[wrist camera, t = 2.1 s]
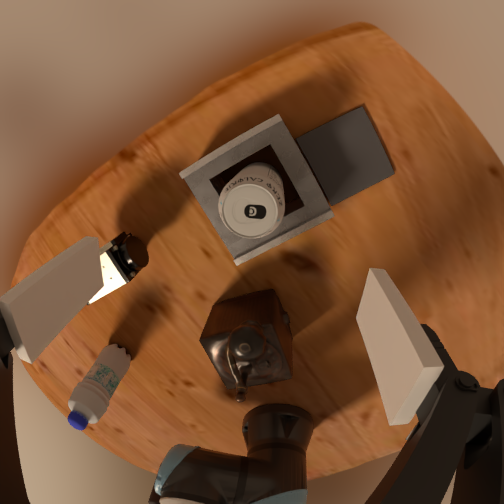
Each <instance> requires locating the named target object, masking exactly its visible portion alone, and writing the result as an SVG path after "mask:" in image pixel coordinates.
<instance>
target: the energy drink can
mask: <svg viewBox="0 0 504 504" xmlns="http://www.w3.org/2000/svg"><path fill="white" fill-rule="evenodd" d="M218 208H219V214H220V217H221V219H222V221H223V223H224V224H225V226H226V227H227V228H228V229H229V230H230V231H231V232H233V233H234V234H236V235H238V236H240V237H243V238H260V237H264V236H266V235H268V234H270V233H271V232H273V231H274V230H275V229H276V228H277V227H278V226H279V224H280V223H281V221H282V219H283V216H284V212H285V200H284V188H283V180H282V177H281V175H280V173H279V172H278V170H277V169H276V168H275V167H273V166H272V165H270V164H267V163H264V162H255V163H251V164H249V165H247V166H246V167H244V168H243V169H242V170H241V171H240V172H239V173H238V174H237V175H236V176H235V177H234V178H233V179H232V180H230V181H229V182H228V184H227V185H226V186H225V187H224V188H223V190H222V192H221V194H220V197H219V203H218Z"/></svg>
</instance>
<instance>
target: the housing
mask: <svg viewBox="0 0 504 504" xmlns="http://www.w3.org/2000/svg"><path fill="white" fill-rule="evenodd" d="M268 145H271V146H272V148H273V150H274V152H275V153H276V155H277V157H278V158H279V160H280V162H281V164H282V165H283V167H284V169H285V171H286V172H287V174H288V176H289V178H290V180H291V181H292V183H293V185H294V187H295V189H296V190H297V192H298V194H299V196H300V197H298V198H296V199H294V200H292V201H290V202H288V203H286V204H285V212H284V216H283V219H282V221H281V223H280V224H279V226H278V227H277V228H276V229H275V230H274V231H273V232H271V233H270V234H268V235H266V236H264V237H260V238H243V237H240V236H238V235H236V234H234V233H233V232H231V231H230V230H229V229H228V228H227V227H226V226H225V224H224V223H223V221H222V219H221V217H220V214H219V208H218V203H219V197H220V194H221V192H222V190H223V188H224V187H225V186H226V184H225V182H224V181H223V179H222V177H221V176H220V174H219V173H221V172H222V171H224V170H226V169H228V168H229V167H231V166H233V165H234V164H236V163H238V162H239V161H241V160H243V159H245V158H246V157H248V156H250V155H252V154H254V153H255V152H257V151H259V150H261V149H262V148H264V147H266V146H268ZM179 175H180V176H181V178H182V179H185V181H186V183H187V184H188V186H189V188H190V189H191V191H192V192H193V194H194V196H195V197H196V199H197V200H198V202H199V204H200V205H201V207H202V208H203V210H204V212H205V213H206V215H207V216H208V218H209V220H210V221H211V223H212V224H213V226H214V228H215V229H216V231H217V232H218V234H219V235H220V237H221V239H222V240H223V242H224V243H225V245H226V246H227V248H228V250H229V251H230V253H231V254H232V256H233V257H234V260H233V261H234V262H235V264H236V265H237V266H238V265H240V264H241V263H243V262H245V261H247V260H249V259H251V258H253V257H255V256H257V255H259V254H261V253H263V252H265V251H267V250H269V249H271V248H273V247H275V246H277V245H279V244H281V243H283V242H285V241H287V240H289V239H291V238H293V237H295V236H297V235H299V234H301V233H303V232H305V231H307V230H309V229H311V228H313V227H314V226H316V225H318V224H320V223H322V222H324V221H326V220H328V219H330V218H332V217H334V214H333V212H332V210H331V208H330V206H329V204H328V202H327V200H326V198H325V197H324V195H323V193H322V191H321V189H320V187H319V185H318V183H317V181H316V179H315V177H314V176H313V174H312V172H311V170H310V168H309V166H308V164H307V163H306V161H305V159H304V157H303V155H302V154H301V152H300V150H299V148H298V146H297V145H296V143H295V141H294V139H293V138H292V136H291V134H290V132H289V131H288V129H287V127H286V126H285V124H284V122H283V121H282V119H281V117H280V115H279V114H277V115H276V116H274V117H272V118H270V119H268V120H266V121H264V122H263V123H261V124H259V125H257V126H255V127H254V128H252V129H250V130H248V131H247V132H245V133H243V134H241V135H240V136H238V137H236V138H234V139H233V140H231V141H229V142H228V143H226V144H224V145H223V146H221V147H219V148H218V149H216V150H214V151H213V152H211V153H210V154H208V155H206V156H205V157H203V158H202V159H200V160H198V161H197V162H195V163H194V164H192V165H191V166H189V167H188V168H186V169H184V170H183V171H181V172H180V173H179Z"/></svg>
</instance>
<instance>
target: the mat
mask: <svg viewBox="0 0 504 504" xmlns="http://www.w3.org/2000/svg"><path fill="white" fill-rule="evenodd" d="M296 140H297V142H298V144H299V146H300V148H301V149H302V151H303V153H304V155H305V156H306V158H307V160H308V162H309V164H310V166H311V167H312V169H313V171H314V173H315V175H316V177H317V179H318V181H319V182H320V184H321V186H322V188H323V190H324V192H325V194H326V196H327V198H328V200H329V202H330V204H331V206H333V205H335V204H337V203H339V202H341V201H342V200H344V199H346V198H348V197H350V196H352V195H354V194H356V193H358V192H360V191H362V190H364V189H366V188H368V187H370V186H372V185H374V184H376V183H378V182H380V181H382V180H384V179H386V178H388V177H389V176H391V175H393V174H395V173H394V171H393V168H392V166H391V164H390V162H389V159H388V157H387V155H386V153H385V151H384V148H383V146H382V144H381V142H380V140H379V138H378V136H377V134H376V132H375V130H374V128H373V126H372V124H371V122H370V120H369V118H368V116H367V114H366V112H365V110H364V108H363V107H359V108H357V109H355V110H353V111H351V112H349V113H347V114H344V115H342V116H340V117H338V118H336V119H334V120H332V121H330V122H328V123H326V124H324V125H322V126H320V127H318V128H316V129H314V130H312V131H310V132H308V133H306V134H304V135H302V136H300V137H298V138H296Z"/></svg>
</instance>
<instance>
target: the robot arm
mask: <svg viewBox="0 0 504 504" xmlns="http://www.w3.org/2000/svg"><path fill="white" fill-rule="evenodd" d="M103 287H104V282H103V275H102V268H101V260H100V252H99V243H98V238H97V237H88V236H86V237H84V238H83V239H81V240H80V241H78V242H77V243H75V244H74V245H72V246H71V247H69V248H68V249H66V250H65V251H63V252H62V253H60V254H59V255H57V256H56V257H54V258H53V259H51V260H50V261H48V262H47V263H46V264H44V265H43V266H41V267H40V268H39V269H37V270H36V271H34V272H33V273H32V274H30V275H29V276H28V277H26V278H25V279H23V280H22V281H21V282H19V283H18V284H17V285H16V286H14V287H13V288H12V289H10V290H9V291H8V292H6V293H5V294H4V295H3V296H1V297H0V504H30V502H29V500H28V497H27V493H26V488H25V484H24V479H23V475H22V469H21V464H20V458H19V452H18V445H17V438H16V429H15V417H14V405H13V404H14V403H13V357H12V354H11V352H10V351H11V350H12V349H13V348H14V347H15V349H16V351H17V354H18V356H19V358H20V359H22V360H24V361H26V362H28V363H31V364H32V363H33V362H34V361H35V360H36V358H37V357H38V356H39V355H40V354H41V353H42V352H43V350H44V349H45V348H46V347H47V346H48V345H49V344H50V343H51V341H52V340H53V339H54V338H55V337H56V336H57V335H58V334H59V333H60V331H61V330H62V329H63V328H64V327H65V326H66V325H67V324H68V323H69V322H70V321H71V320H72V319H73V317H74V316H75V315H76V314H77V313H78V312H79V311H80V310H81V309H82V308H83V307H84V306H85V305H86V304H87V303H88V302H89V301H90V300H91V299H92V298H93V297H94V296H95V295H96V294H97V293H98V292H99V291H100V290H101V289H102V288H103ZM356 320H357V323H358V326H359V328H360V331H361V334H362V337H363V340H364V343H365V346H366V349H367V352H368V355H369V358H370V362H371V365H372V368H373V371H374V374H375V377H376V381H377V384H378V387H379V391H380V394H381V397H382V401H383V404H384V408H385V412H386V415H387V419H388V422H389V425H400V424H409V422H410V421H411V419H412V418H413V416H414V415H415V413H416V414H417V417H418V420H419V422H418V423H417V425H416V426H415V427H414V429H413V430H412V431H411V433H410V434H409V435H408V437H407V438H406V440H407V442H406V443H405V445H404V447H403V448H402V450H401V452H400V453H399V455H398V456H397V458H396V460H395V461H394V463H393V464H392V466H391V468H390V469H389V470H388V472H387V474H386V475H385V477H384V478H383V479H382V481H381V482H380V483H379V485H378V486H377V488H376V489H375V490H374V492H373V493H372V495H371V496H370V497H369V498H368V500H367V501H366V502H365V504H441V502H442V500H443V498H444V495H445V493H446V491H447V489H448V487H449V485H450V482H451V480H452V478H453V475H454V473H455V470H456V476H455V482H454V488H453V494H452V499H451V503H450V504H504V379H502V380H500V381H499V383H498V384H497V386H496V387H495V388H494V389H489V388H483V387H480V385H479V383H478V381H477V380H476V379H475V377H474V376H472V375H471V374H469V373H467V372H464V371H458V369H457V368H456V366H455V364H454V363H453V361H452V359H451V357H450V356H449V354H448V352H447V351H446V349H444V346H443V344H442V343H441V342H440V339H439V338H438V336H437V334H436V333H435V332H434V331H433V330H432V329H431V328H430V327H429V326H427V325H426V324H420V323H419V322H418V320H417V318H416V317H415V315H414V314H413V312H412V310H411V309H410V307H409V306H408V304H407V302H406V301H405V299H404V298H403V296H402V295H401V293H400V292H399V290H398V289H397V287H396V286H395V284H394V283H393V281H392V280H391V278H390V277H389V275H388V274H387V272H386V271H385V269H377V268H370V269H369V273H368V276H367V280H366V284H365V288H364V291H363V295H362V299H361V302H360V306H359V309H358V312H357V316H356ZM242 432H243V436H244V440H245V443H246V447H247V451H248V453H247V457H245V456H239V455H234V454H228V453H223V452H218V451H213V450H209V449H204V448H201V447H199V446H195V447H194V446H189V445H184V444H178V445H175V446H174V447H172V448H171V449H170V450H169V452H168V453H167V455H166V456H165V458H164V460H163V462H162V464H161V466H160V469H159V471H158V476H157V478H156V481H155V487H154V488H155V492H156V493H158V494H159V495H161V497H160V501H159V502H160V504H306V495H307V493H308V491H307V475H306V450H307V447H308V445H309V442H310V439H311V436H312V433H313V419H312V417H311V416H310V414H309V413H308V412H306V411H305V410H303V409H301V408H299V407H296V406H292V405H285V404H271V405H265V406H261V407H258V408H255V409H253V410H251V411H250V412H249V413H247V414H246V416H245V417H244V419H243V426H242ZM456 468H457V469H456Z"/></svg>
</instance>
